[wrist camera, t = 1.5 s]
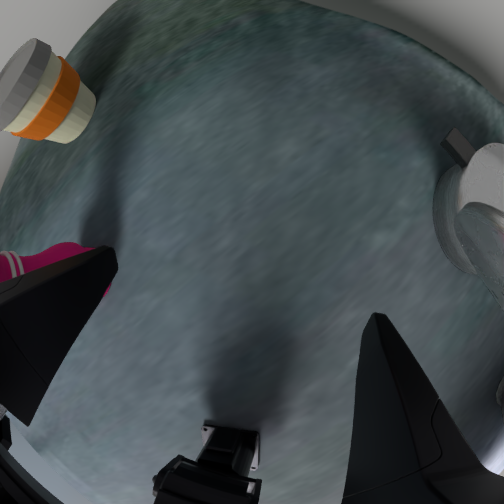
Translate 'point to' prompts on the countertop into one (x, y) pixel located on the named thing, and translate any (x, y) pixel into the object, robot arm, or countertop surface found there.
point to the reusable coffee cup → (43, 96)
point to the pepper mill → (37, 260)
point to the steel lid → (483, 244)
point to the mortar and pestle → (501, 396)
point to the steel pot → (466, 190)
